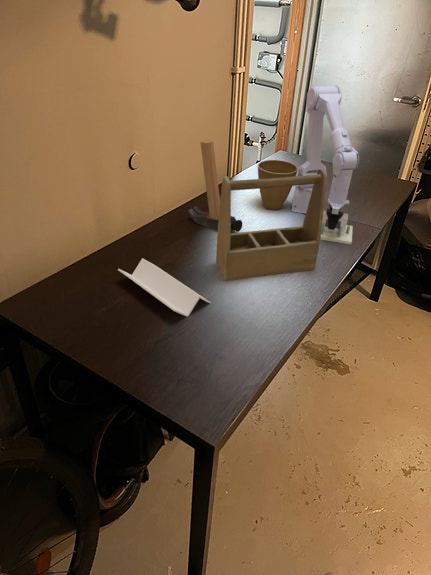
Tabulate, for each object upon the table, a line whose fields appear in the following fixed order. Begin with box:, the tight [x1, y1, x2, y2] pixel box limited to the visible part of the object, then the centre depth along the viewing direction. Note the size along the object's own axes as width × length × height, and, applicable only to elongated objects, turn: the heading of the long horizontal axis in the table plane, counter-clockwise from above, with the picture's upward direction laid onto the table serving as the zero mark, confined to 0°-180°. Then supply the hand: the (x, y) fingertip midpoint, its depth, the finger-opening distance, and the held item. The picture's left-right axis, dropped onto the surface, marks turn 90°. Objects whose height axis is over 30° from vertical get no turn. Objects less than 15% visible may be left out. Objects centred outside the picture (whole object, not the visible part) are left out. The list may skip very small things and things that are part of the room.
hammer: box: [187, 139, 243, 233], centre depth 145 cm, size 20×5×30 cm, turn 52°
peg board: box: [320, 224, 353, 245], centre depth 151 cm, size 15×12×4 cm
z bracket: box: [117, 258, 212, 317], centre depth 119 cm, size 12×25×6 cm
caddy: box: [215, 169, 328, 282], centre depth 124 cm, size 29×11×30 cm, turn 105°
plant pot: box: [257, 159, 299, 211], centre depth 164 cm, size 15×15×16 cm
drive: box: [322, 210, 349, 235], centre depth 149 cm, size 9×5×6 cm, turn 74°
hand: (331, 224), depth 150 cm, fingers open, 7 cm apart
